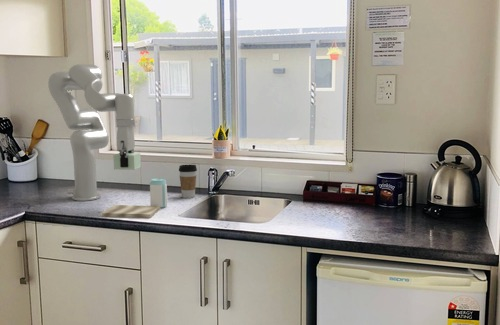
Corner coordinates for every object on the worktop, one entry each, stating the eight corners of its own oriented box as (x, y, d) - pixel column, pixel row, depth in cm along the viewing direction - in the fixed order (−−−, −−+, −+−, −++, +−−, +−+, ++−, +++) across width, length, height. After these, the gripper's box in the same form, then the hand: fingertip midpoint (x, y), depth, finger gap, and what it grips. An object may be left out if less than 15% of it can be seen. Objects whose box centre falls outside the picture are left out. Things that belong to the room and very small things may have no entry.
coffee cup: (188, 199, 249) (188, 166, 247) (175, 197, 254) (174, 165, 252) (201, 196, 255) (200, 164, 253) (188, 194, 261) (187, 162, 258)
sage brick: (114, 169, 228) (113, 155, 228) (120, 166, 235) (120, 153, 234) (134, 169, 227) (133, 155, 226) (140, 167, 234) (140, 153, 233)
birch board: (101, 216, 218) (101, 212, 218) (114, 208, 232) (114, 204, 232) (150, 218, 216) (150, 214, 216) (160, 209, 230) (160, 206, 230)
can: (147, 206, 235) (146, 179, 233) (160, 204, 240) (160, 177, 238) (157, 209, 230) (156, 181, 228) (170, 206, 235) (169, 179, 233)
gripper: (123, 122, 237) (125, 162, 240) (109, 125, 220) (111, 168, 223) (140, 122, 237) (142, 162, 239) (127, 125, 219) (129, 168, 222)
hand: (127, 165), depth 231 cm, fingers closed on sage brick, 7 cm apart
